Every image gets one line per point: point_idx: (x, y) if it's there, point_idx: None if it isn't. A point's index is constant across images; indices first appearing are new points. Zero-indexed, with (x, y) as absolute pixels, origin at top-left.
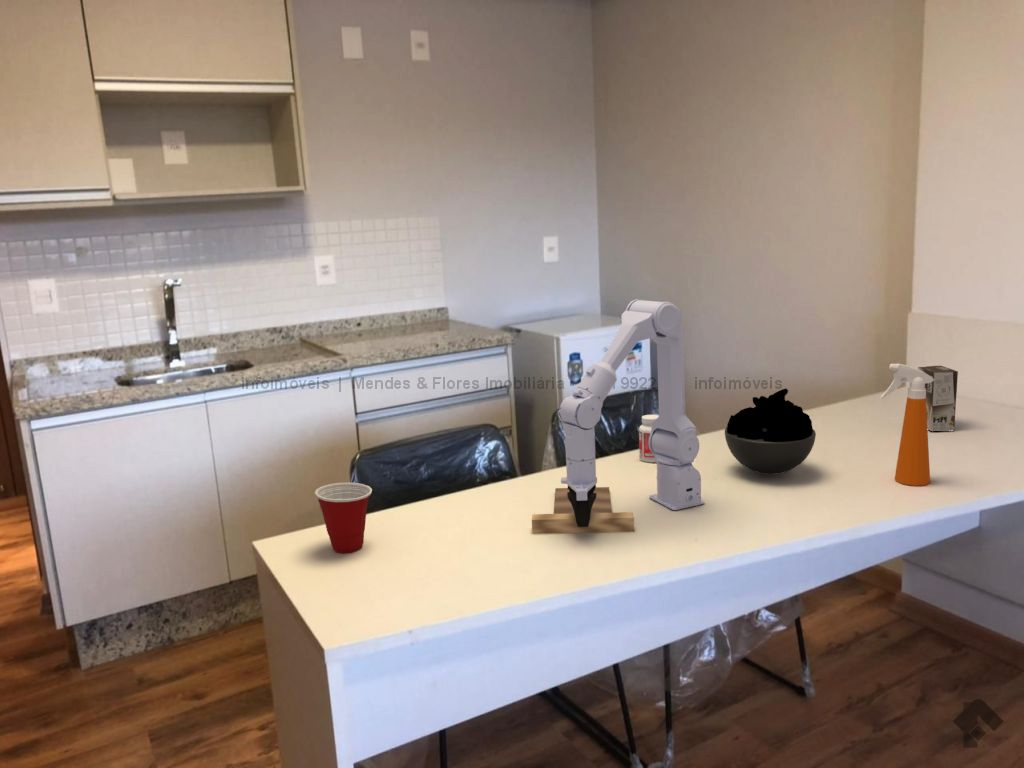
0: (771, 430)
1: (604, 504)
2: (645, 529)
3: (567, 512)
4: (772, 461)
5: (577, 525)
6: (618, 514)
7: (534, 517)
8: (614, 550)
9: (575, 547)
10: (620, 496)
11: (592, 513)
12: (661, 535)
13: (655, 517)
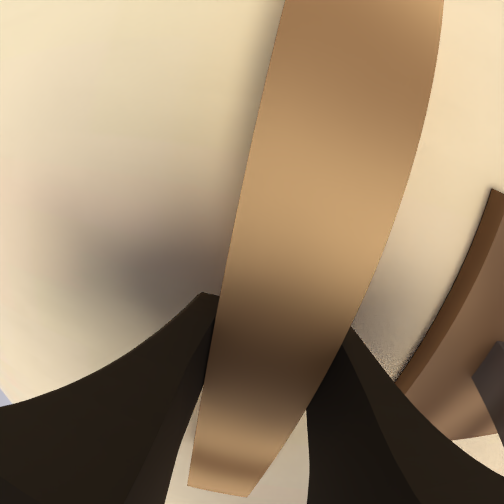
0: None
1: (455, 426)
2: None
3: (491, 284)
4: None
5: (199, 294)
6: (235, 475)
7: None
8: (40, 340)
9: (45, 210)
10: (488, 439)
11: (291, 419)
12: None
13: (297, 488)
